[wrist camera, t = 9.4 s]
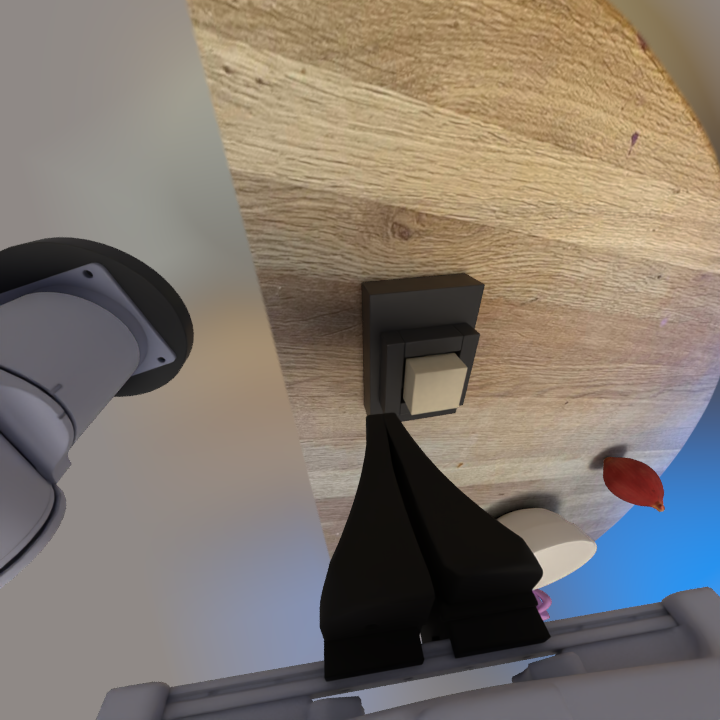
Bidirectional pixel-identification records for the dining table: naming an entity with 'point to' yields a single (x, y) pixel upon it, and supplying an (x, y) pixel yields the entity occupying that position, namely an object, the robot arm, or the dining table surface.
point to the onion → (633, 482)
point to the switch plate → (415, 333)
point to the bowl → (551, 541)
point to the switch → (433, 382)
